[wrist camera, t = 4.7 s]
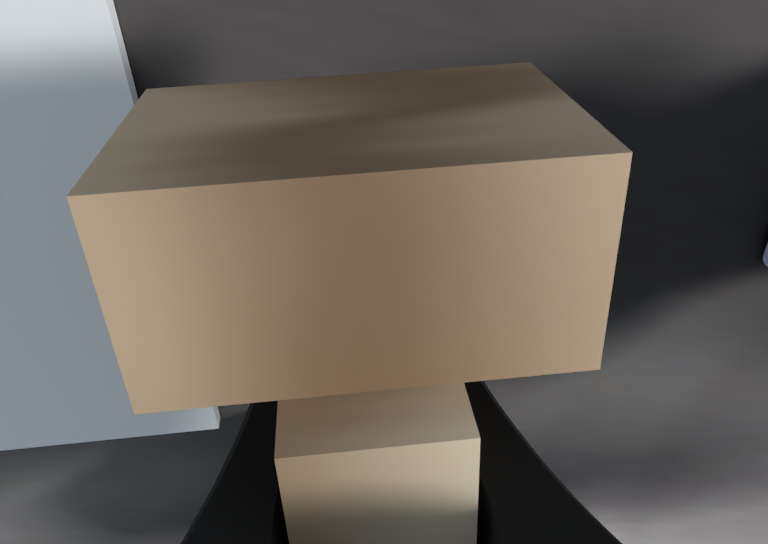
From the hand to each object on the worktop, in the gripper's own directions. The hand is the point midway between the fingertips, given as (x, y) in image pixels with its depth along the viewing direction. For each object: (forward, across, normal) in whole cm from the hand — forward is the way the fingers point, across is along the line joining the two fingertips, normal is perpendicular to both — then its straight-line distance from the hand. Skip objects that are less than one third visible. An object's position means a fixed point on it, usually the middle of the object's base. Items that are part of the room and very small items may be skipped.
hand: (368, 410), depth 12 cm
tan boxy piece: (+1, 0, +1) cm, 2 cm away
